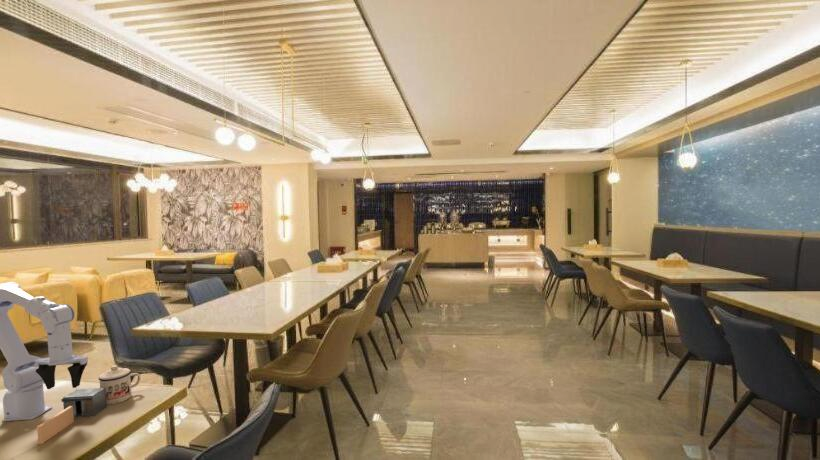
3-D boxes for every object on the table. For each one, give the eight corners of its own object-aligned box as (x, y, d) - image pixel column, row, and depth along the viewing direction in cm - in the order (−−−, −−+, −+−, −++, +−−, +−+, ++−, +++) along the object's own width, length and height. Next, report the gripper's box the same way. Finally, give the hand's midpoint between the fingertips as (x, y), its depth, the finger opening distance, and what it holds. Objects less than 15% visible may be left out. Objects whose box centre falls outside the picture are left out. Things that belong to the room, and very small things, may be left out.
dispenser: (63, 418, 131) (61, 398, 131) (78, 408, 138) (76, 389, 138) (92, 417, 132) (91, 396, 131) (106, 407, 138) (105, 387, 138)
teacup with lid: (104, 408, 138) (101, 373, 137) (97, 400, 144) (94, 367, 143) (145, 394, 147) (143, 362, 146) (137, 388, 153) (135, 356, 152)
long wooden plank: (38, 443, 117) (36, 426, 117) (70, 422, 129) (69, 406, 129) (42, 443, 117) (40, 426, 117) (74, 421, 129) (72, 406, 129)
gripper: (24, 350, 126) (28, 394, 127) (74, 347, 127) (78, 391, 128) (43, 342, 133) (47, 384, 134) (91, 340, 134) (94, 381, 135)
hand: (63, 387), depth 131 cm, fingers open, 7 cm apart
